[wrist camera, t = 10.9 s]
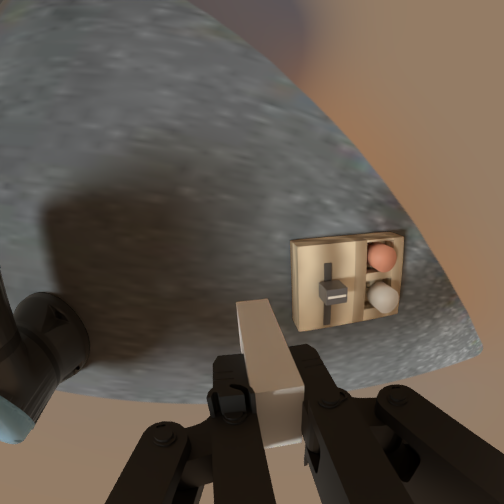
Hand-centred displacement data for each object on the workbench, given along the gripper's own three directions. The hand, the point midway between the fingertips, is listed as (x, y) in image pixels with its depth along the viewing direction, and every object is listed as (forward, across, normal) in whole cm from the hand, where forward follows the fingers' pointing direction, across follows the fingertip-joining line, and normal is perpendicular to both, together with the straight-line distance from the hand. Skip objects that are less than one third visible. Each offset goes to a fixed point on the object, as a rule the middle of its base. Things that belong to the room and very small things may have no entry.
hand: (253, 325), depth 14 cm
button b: (+22, +20, -10) cm, 32 cm away
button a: (+24, +20, -4) cm, 31 cm away
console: (+26, +16, -8) cm, 32 cm away
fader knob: (+22, +12, -8) cm, 26 cm away
